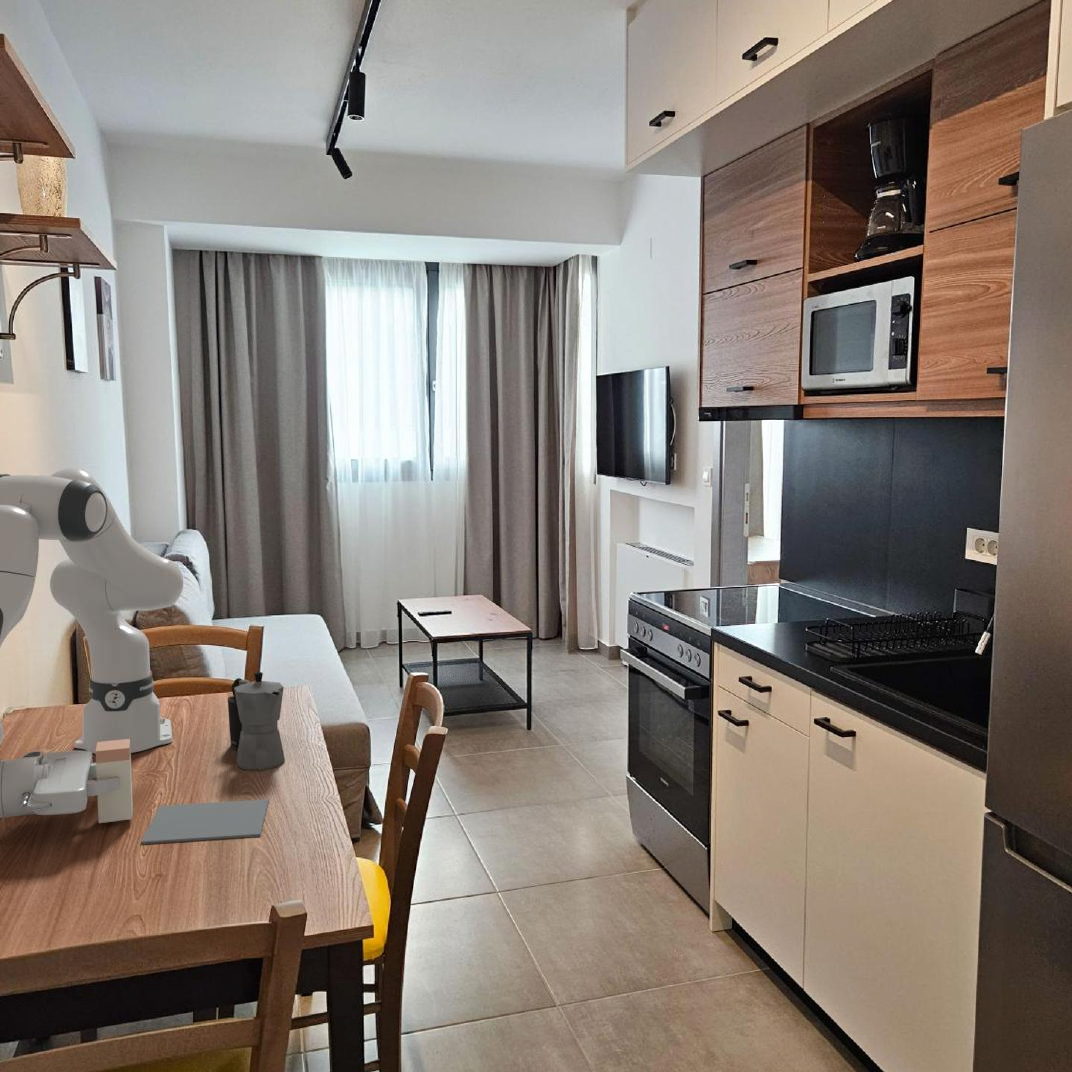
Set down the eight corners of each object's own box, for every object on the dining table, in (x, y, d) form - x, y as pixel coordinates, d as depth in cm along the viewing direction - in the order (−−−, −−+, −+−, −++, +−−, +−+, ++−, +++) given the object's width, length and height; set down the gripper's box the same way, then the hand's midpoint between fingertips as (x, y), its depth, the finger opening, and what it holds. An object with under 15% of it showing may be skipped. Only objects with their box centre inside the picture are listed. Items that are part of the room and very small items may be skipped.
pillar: (100, 811, 163) (97, 741, 162) (132, 807, 165) (129, 738, 164) (98, 823, 158) (95, 751, 157) (132, 819, 160) (129, 747, 159)
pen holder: (235, 737, 206) (234, 691, 205) (280, 737, 207) (279, 691, 206) (223, 752, 197) (222, 703, 196) (270, 751, 197) (269, 703, 196)
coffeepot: (301, 763, 190) (299, 673, 188) (259, 776, 183) (257, 682, 181) (255, 747, 200) (253, 660, 198) (214, 758, 193) (211, 669, 191)
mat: (160, 808, 167) (159, 805, 167) (268, 801, 171) (268, 799, 171) (141, 844, 153) (141, 841, 153) (260, 836, 156) (260, 833, 156)
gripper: (16, 789, 146) (117, 778, 151) (32, 747, 165) (121, 739, 170) (18, 830, 147) (118, 817, 152) (34, 783, 166) (122, 774, 171)
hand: (120, 775), depth 161 cm, fingers closed on pillar, 5 cm apart
